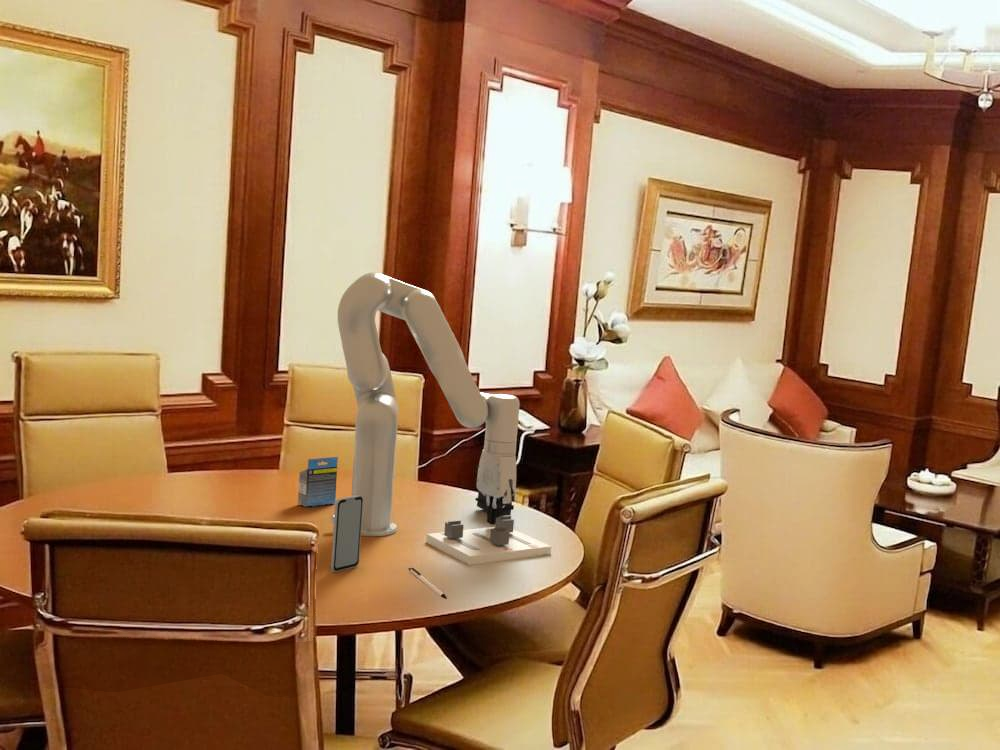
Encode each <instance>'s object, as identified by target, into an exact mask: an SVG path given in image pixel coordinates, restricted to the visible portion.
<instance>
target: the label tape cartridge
mask: <svg viewBox="0 0 1000 750" xmlns="http://www.w3.org/2000/svg"><path fill="white" fill-rule="evenodd" d="M338 459H339V456H334V457H333V456H332V457H319V458H308V459H307V469H304V470H302V471H300V472H299V478H298V480H299V481H298V495H297V496H298V497H297V498H298V499H297V504H298V503H299V504H301V505H303V506H305V507H304V508H309V507H308V506H312V507H316V506H317V507H318V505H319V506H326V504H327V505H335V504H334V503H335V502H336V500H337V499H336V498H337V497H336V496H337V495H336V494H337V478H338V477H337V475H338ZM322 462H323V463H325V464H320V463H322ZM299 504H298V505H299ZM301 505H300V506H301ZM303 506H302V507H303ZM306 506H307V507H306Z"/></svg>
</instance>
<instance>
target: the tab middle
mask: <svg viewBox="0 0 1000 750" xmlns="http://www.w3.org/2000/svg"><path fill="white" fill-rule="evenodd" d="M509 532H510V531H508V530H507V527H496V528H494V529H491V534H490V542H491V543H493V544H495V545H497V546H499V545H508V544H509Z"/></svg>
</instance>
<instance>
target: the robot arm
mask: <svg viewBox="0 0 1000 750" xmlns="http://www.w3.org/2000/svg"><path fill="white" fill-rule="evenodd" d="M377 312H381V313H384V314H386V315H389V316H392V317H394V318H397V319H401V320H403V321H405V322H406V324H407V326H408V329H409V331H410V333H411V335H412V337H413V339H414V340H415V342H416V345H417V346H418V347H419V349H420V350H419V351H421V354H422V355H423V357H424V360H425V362H426V364H427V365H428V368H429V370H430V371H431V373H432V374H433V376H434V378H435V380H436V381H437V383H438V384H439V387H440V388H441V390H442V392H443V394H444V396H445V398H446V400H447V402H448V405H449V406H450V408H451V411H452V412H453V414H454V415H455V418H456V420H457V421H458V422H459V424H460V425H462V426H463V427H465V428H468V429H475V428H478V427H480V426H482V425H483V424H484V423H485V433H484V442H483V443H484V445H483V449H482V452H481V455H480V458H479V463H478V464H479V469H478V473H477V477H476V485H477V487H476V489H477V490H479V491H481V493H482V494H483V495H484V496H485V497H486V499H487V506H489V507H488V512H486V513H487V515H486V523H487V524H489V525H495V524H496V517H499V516H502V510H503V508H504V506H505V504H507V503H511V497H512V498H513V497H514V495H515V494H516V493H515V492H516V487H517V456H516V454H517V441H518V438H517V437H518V428H519V417H520V415H519V413H520V400H519V398H518V397H517V396H515V395H511V394H503V393H496V394H491V393H485V392H481V391H480V389H479V387H478V386H477V384H476V381H475V379H474V377H473V375H472V373H471V372H470V369H469V367H468V364H467V362H466V360H465V356H464V352H463V350H462V349H461V346H460V344H459V342H458V339H457V338H456V336H455V334H454V332H453V331H452V329H451V328H452V327H450V324H449V323H448V321H447V319H446V316H445V314H444V313H443V311H442V309H441V306H440V305H439V303H438V301H437V299H436V297H435V296H434V294H433V293H432V292H430V291H429V290H426V289H423V288H420V287H417V286H414V285H412V284H409V283H405V282H403V281H401V280H398V279H395V278H392V277H391V276H388V275H385V274H382V273H379V272H375V271H374V272H368V273H365V274H363V275H361V276H359V277H358V278H357V279H356V280H354V282H352V283H351V284H350V285H349V286H348V288H347V289H346V290H345V291H344V293H342V296H341V298H340V301H339V304H338V307H337V325H338V332H339V335H340V340H341V347H342V351H343V356H344V360H345V364H346V365H345V366H346V374H347V378H348V380H349V382H350V383H351V385H352V387H353V392H354V397H355V401H356V404H357V412H356V417H355V427H354V429H355V430H354V431H355V432H354V451H353V452H354V453H353V469H352V471H353V472H352V483H351V484H352V486H351V496H357V495H360V496H362V497H363V512H362V526H361V537H362V536H364V537H385V536H391V535H393V534H395V533H397V530H398V528H397V527H398V525H397V524H396V523H395V522H393V521H392V511H393V510H392V508H393V493H394V479H395V463H396V452H397V451H396V449H397V439H398V435H397V434H398V428H399V427H398V426H399V417H400V416H399V412H400V409H399V404H398V400H397V395H396V390H395V387H394V381H393V378H392V374H391V373H392V372H391V369H390V364H389V360H388V358H387V357H386V355H384V353H383V352H382V347H381V344H380V339H379V338H380V337H379V331H378V329H377V324H376V314H377ZM330 523H331V524H333V525H334V515H331V516H330Z"/></svg>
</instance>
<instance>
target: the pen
mask: <svg viewBox="0 0 1000 750" xmlns="http://www.w3.org/2000/svg"><path fill="white" fill-rule="evenodd" d="M408 570H409V572H410V573H412V575H414V576H415V577H417V578H418V579H419V580H420V581H422V583H424V584H425V585H426V586H428V587H429V588H430V589H431V590H432V591H434V592H435V593H437V595H439V596H440V598H444V599H445V600H447V599H448V598H447V595H446V594H445V593H443V592H442V591H441V590H440V589H438V587H437V586H435V585H434V584H433V583H432V582H430V581H429V580H427V579H426V578H425V577H424V576H423V575H422V573H420V572H419V571H417V569H415V568H414V567H411V568H410V567H408Z"/></svg>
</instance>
